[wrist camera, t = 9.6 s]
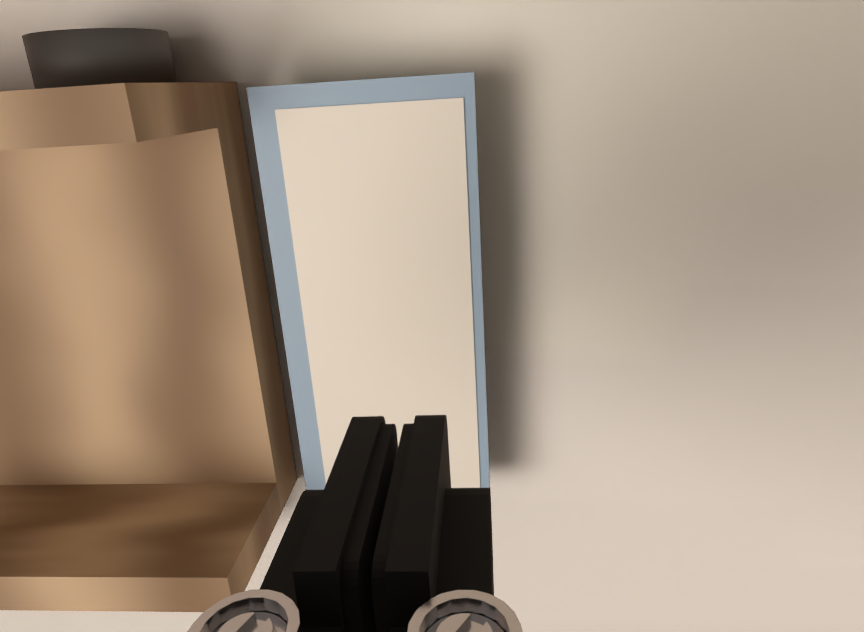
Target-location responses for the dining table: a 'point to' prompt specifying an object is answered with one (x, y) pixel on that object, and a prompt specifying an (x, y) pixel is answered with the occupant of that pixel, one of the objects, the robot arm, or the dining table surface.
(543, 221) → the dining table surface
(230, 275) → the truck bed
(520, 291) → the dining table surface
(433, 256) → the panel
